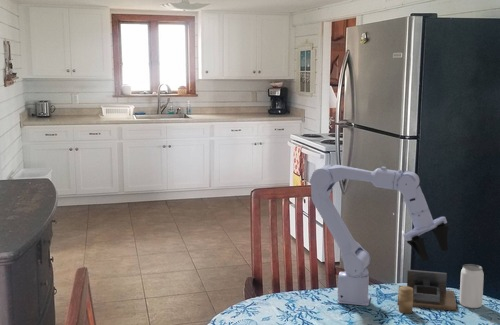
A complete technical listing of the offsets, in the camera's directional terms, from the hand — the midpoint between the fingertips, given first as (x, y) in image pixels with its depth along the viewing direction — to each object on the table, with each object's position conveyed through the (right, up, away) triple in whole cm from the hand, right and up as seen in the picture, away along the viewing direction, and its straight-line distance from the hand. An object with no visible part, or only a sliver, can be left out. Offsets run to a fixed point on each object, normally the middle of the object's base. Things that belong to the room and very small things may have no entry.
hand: (435, 255), depth 162 cm
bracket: (+1, -16, +13) cm, 20 cm away
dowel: (-7, -18, +4) cm, 20 cm away
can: (+14, -17, +8) cm, 23 cm away
